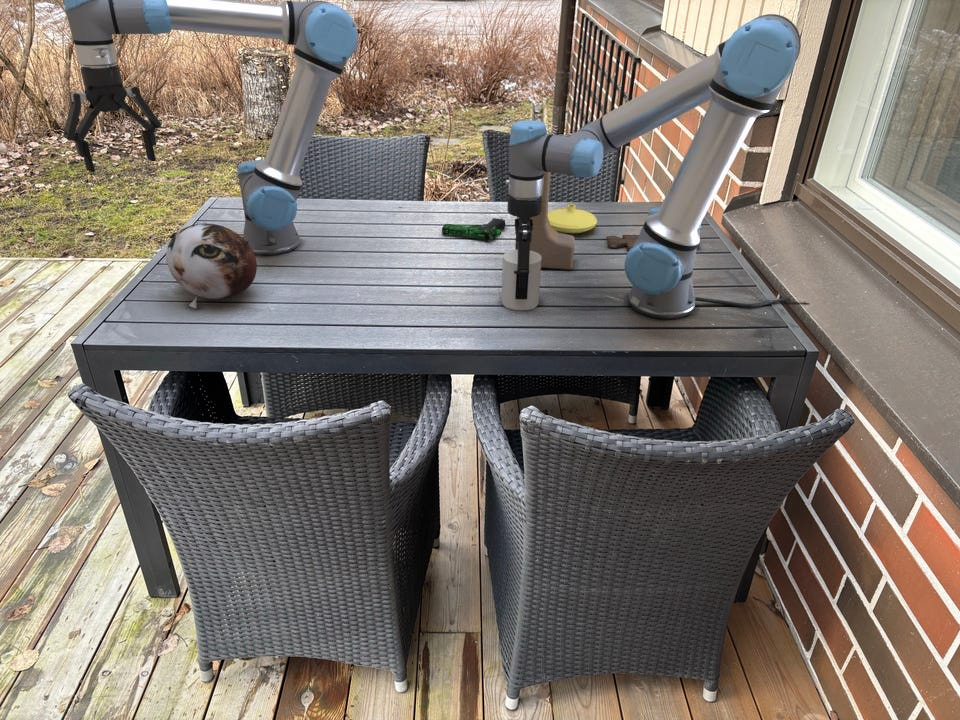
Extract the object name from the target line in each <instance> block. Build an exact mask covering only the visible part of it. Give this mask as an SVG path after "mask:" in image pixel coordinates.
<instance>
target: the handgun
mask: <svg viewBox="0 0 960 720" xmlns="http://www.w3.org/2000/svg"><path fill="white" fill-rule="evenodd" d="M505 228H506V220H505V219H503V218H497V217H492V219H491V220H490V221H489V222H488V223H483V224H482V225H479V224H472V225H459V224H453V223H445V224H443V226H442V227H441V235H446V236H454V237H462V238H469V239H470V238H471V239H474V240H479V241H484V242H491V241H492V240H494V239H495V238H497V237H500V236H502V230H504V229H505Z"/></svg>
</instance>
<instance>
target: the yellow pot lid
mask: <svg viewBox="0 0 960 720" xmlns="http://www.w3.org/2000/svg"><path fill="white" fill-rule="evenodd" d="M547 216H548V219H549V222H550V225H551V228H553V229H554V230H555V231H557V232H558V233H562V234H580V233H584V232H585V233H586V232H587V231H591V230H592V229H594V228H596V226H597V223H598V219H597V217H596V215H595V214H593V213H591V212H589V211H587V210H584V209H578V208H576V205H575V204H571V203H570V204H567V208H557V209H552V210H548V215H547Z"/></svg>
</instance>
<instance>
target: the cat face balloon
mask: <svg viewBox="0 0 960 720" xmlns="http://www.w3.org/2000/svg"><path fill="white" fill-rule="evenodd" d="M177 232H178V233H177V234H176V235H174V237H173V238H170V241H169V243H168V245H167V248H166V254H165V260H166V265H167V268H168V271H169V273H170V275H171V276H172V277H173V279H174V280H175V281H176V282H177V284H178V285H180V286H181V287H182V288H183V289H185V290H186V291H187V292H189V293H191V294H194V295H195V298H194V299H193V300H192V302H190V303H189V304H188V306H189V307H191V308H192V309H197V308H198V307H197V298H198V297H201V298H205V299H210V300H226V299H230V298H233V297H236V296H238V295H241V294H242V293H244V292H245V291H247V290H248V289H249V288H250V286H251V285H252V284H253V282H254V280H255V278H256V275H257V271H258V262H257V257H256V254H254V252H253V250H252V248H251V247H250V245H249V244H248V242H249V241H246V240H245V239H244V238H243V236H242V235H240V234H239V233H238V232H236V231H234V230H233V229H231V228H229V227H226V226H223V225H220V224H215V223H205V222H204V223H195V224H191V225H188V226H186V227H183V228H182V229H180V230H179V231H177Z"/></svg>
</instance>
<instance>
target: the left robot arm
mask: <svg viewBox="0 0 960 720" xmlns="http://www.w3.org/2000/svg"><path fill="white" fill-rule="evenodd" d="M63 3H64V10H65V13H66V17H67V21H68V22H67V23H68V26H69V30H70V33H71V37H72V40H73V45H74V49H75V54H76V58H77V62H78V64H79V65H80V66H81V67H80V69H79V70H80V74H81V79H82V83H83V86H84V92H75V91H70V93H69V98H70V99H69V100H70V105H69V110H68V114H67V118H66V123H65V127H64V130H63V138H64V139H66V140H68V141H73V142H74V145H75V148H76V151H77V155H78V156H79V157H81V158H83V160H84V164H85V168H86V170H87V171H88V172H90V173H96V170H95V166H94V162H93V157H92V153H91V149H90V145H89V142H88V141H87V140H85V138H86V136H87V135H88V133H89V131H90V129H91V127H92V126H93V124H94V122H95V120H96V118H97V117H98V116H99V115H100V113H102V112H103V113H110V112H118V111H119V110H122V111H123V112H125V114H127V115H128V116H129V117H130V118H131V119H133V120H134V121H135V122H136V123H137V124H139V125H140V126H141V127H142V128H143V129H144V130H141V135H142V139H143V143H144V148H145V154H146V158H147V160H148V161H151V162H152V163H153V162H156V161H157V159H156V155H155V154H156V153H155V150H154V146H156V145H157V141H156V135H155V133H156V130H157V129H158V128H159V129H160V128H161V127H162V123H161V122H160V120H159V119H158V118H157V116H156V115H155V114H154V112H153V110H151V107H150V106H149V105H148V104H147V102H146V101H145V99H144V98H143V97H142V94H141V90H140V88H139V87H138V86H135V85H132V84H131V85H129V87H124V84H123V79H122V74H121V70H120V66H119V65H117V64H118V62H119V60H118V55H117V51H116V48H115V43H114V38H113V35H154V36H157V35H159V34H160V35H162V34H163V35H164V34H170V33H171V32H172V31H182V32H193V33H205V34H217V35H226V36H227V35H228V36H237V37H238V36H239V37H249V38H260V39H261V38H262V39H270V40H271V39H273V40H280V41H282V43H284V44H285V45H288V46H295V47H294V50H293V52H292V55H293V57H294V60H295V63H296V65H295V68H294V72H293V73H292V78H291V80H290V83H289V86H288V89H287V93H286V95H285V97H284V101H283V104H282V107H281V110H280V113H279V116H278V119H277V122H276V125H275V129H274V131H273V134H272V137H271V140H270V142H269V143H270V144H269V146H268V148H267V152H266V154H265V158H264V159H256V160H248V161H245V162H241V163H239V164H238V166H237V168H236V169H237V174H236V176H237V178H238V183H239V190H240V196H241V201H242V208H243V212H244V213H243V215H244V219H245V220H244V226H243V228H244V229H243V235H242V237H243V238H244V239H245V240H246V241H249V242H248V244H249V245H250V247H251V248H252V250H253V252H254V254H255V256H256V255H257V256H275V255H281V254H282V255H283V254H285V253H289V252H291V251H293V250H296V249H297V248H298V247H299V246H300V244H301V241H300V235H299V233H298V231H297V229H296V227H295V225H294V223H293V222H294V220H295V219H296V216H297V212H298V204H297V200H298V197H299V195H300V192H301V189H302V186H303V180H302V179H301V176H300V173H301V170H302V167H303V164H304V161H305V158H306V155H307V153H308V150H309V148H310V144H311V142H312V139H313V135H314V133H315V130H316V127H317V124H318V123H319V119H320V116H321V114H322V110H323V107H324V105H325V102H326V99H327V97H328V93H329V92H330V88H331V85H332V83H333V80H336V79H337V78H340V77H342V74H343V72H344V69H345V66H346V64H347V61H348V60H350V58H351V57H352V56H353V55H354V53H355V52H356V51H357V50H356V49H357V47H358V43H359V33H358V28H357V25H356V23H355V21H354V19H353V18H352V16H351V15H350V14H349V12H347V11H346V10H345V9H344V8H342V7H341V6H340V5H337V4H333V3H330V2H328V1H326V0H325V1H324V0H308V1H307V0H305V1H299V0H297V1H296V0H283V1H282V2H281V3H280V4H278V3H268V2H267V3H266V2H258V1H256V2H255V1H248V0H63ZM127 95H128V96H129V97H130V98H132V99H133V101H134V102H135V104H136V105H137V106H138V108H139V109H140V110H141V113H143V115H144V116H145V117H146V118H147V120H148V121H149V122H148V121H147V120H146V119H145V118H143V116H141V115H140V114H139V113H138V112H137V111H136V110H135V109H133V108H132V106H130V105H129V104H128V103H127V102H126V101H125V100H126V98H127ZM85 100H86V101H87V102H88V103H89V105H88V107H87V108H86V112H85V114H84V115H83V117H82V119H81V121H80V123H79V125H78V122H79V119H80V113H81V110H82V104H84V101H85ZM178 232H179V231H176V232H174V233H172V234H171V235H170V236H169V239H172V238H173V237H174V235H176V234H177V233H178Z"/></svg>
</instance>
